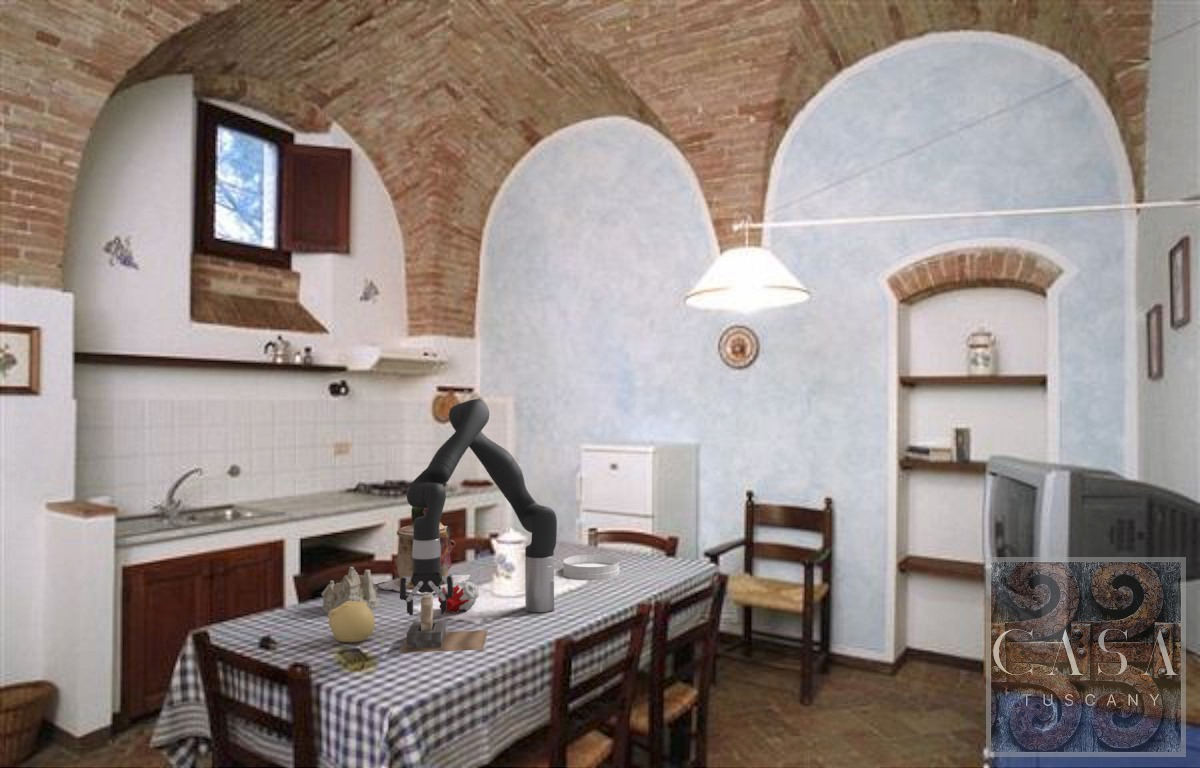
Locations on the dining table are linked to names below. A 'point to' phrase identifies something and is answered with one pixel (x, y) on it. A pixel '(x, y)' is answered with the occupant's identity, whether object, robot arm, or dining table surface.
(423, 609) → the beige rectangular bar
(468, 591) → the red-white knobbly ovoid
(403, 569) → the cookie jar
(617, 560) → the dish
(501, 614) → the dining table surface
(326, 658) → the dining table surface
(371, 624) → the cream sphere
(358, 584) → the ceramic cottage
